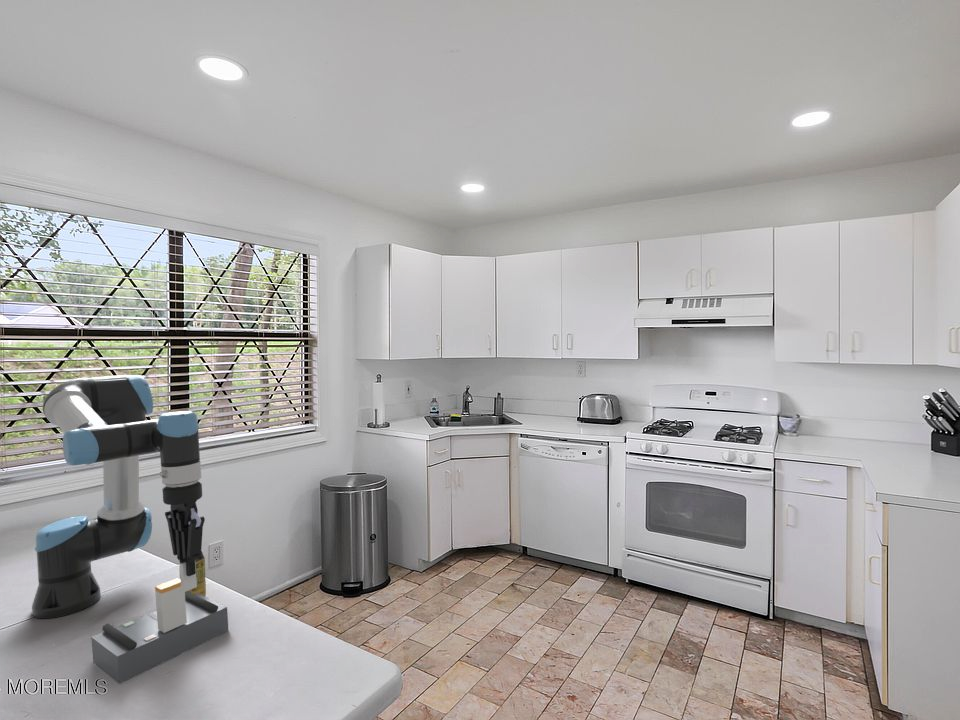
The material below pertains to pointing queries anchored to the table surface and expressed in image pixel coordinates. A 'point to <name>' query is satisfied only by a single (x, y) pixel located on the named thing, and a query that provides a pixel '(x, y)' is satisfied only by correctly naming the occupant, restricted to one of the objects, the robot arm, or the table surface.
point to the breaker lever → (170, 605)
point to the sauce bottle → (199, 576)
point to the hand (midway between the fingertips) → (189, 588)
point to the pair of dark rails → (132, 644)
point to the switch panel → (156, 640)
